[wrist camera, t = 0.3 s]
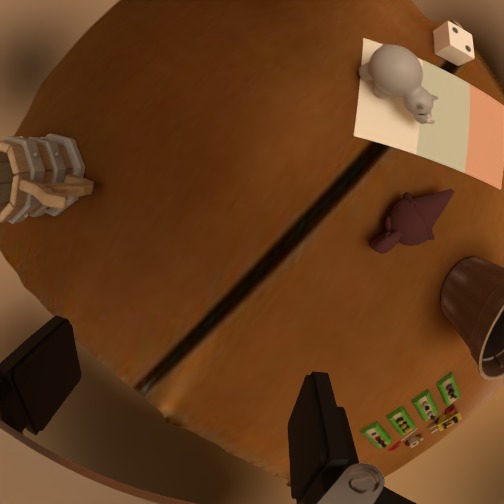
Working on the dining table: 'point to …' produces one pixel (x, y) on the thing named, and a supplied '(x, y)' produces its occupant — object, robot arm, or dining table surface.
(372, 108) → the game mat
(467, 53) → the die
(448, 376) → the toy garden set
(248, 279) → the dining table surface
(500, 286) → the plant pot
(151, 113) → the dining table surface
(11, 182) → the tankard
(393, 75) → the round bodied animal figurine
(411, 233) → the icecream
